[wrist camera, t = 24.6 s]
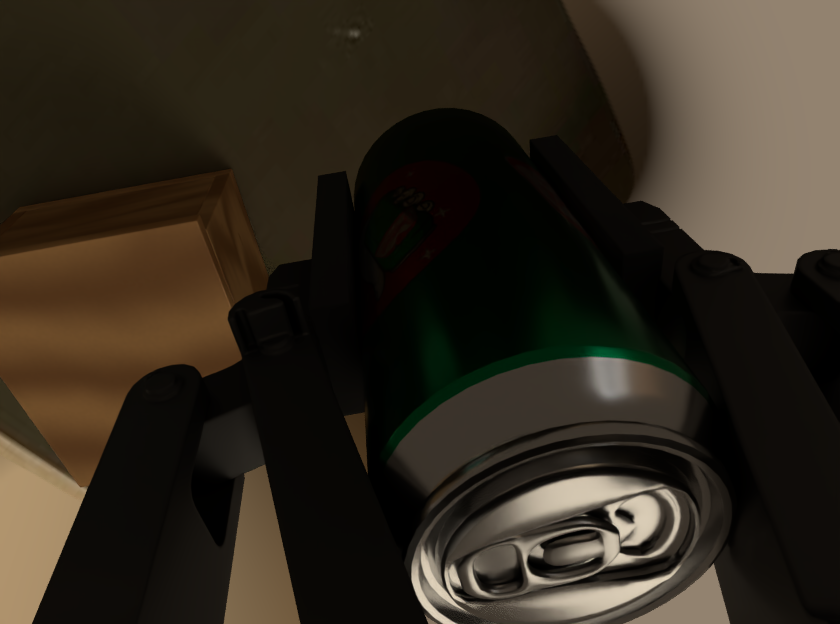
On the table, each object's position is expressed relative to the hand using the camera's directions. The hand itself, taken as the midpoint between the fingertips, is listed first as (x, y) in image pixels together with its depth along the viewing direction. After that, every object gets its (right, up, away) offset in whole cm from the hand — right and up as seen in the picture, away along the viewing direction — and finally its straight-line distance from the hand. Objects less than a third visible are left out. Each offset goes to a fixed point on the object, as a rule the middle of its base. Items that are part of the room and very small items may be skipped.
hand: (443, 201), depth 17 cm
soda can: (0, +1, +1) cm, 1 cm away
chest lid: (-18, -6, +18) cm, 26 cm away
